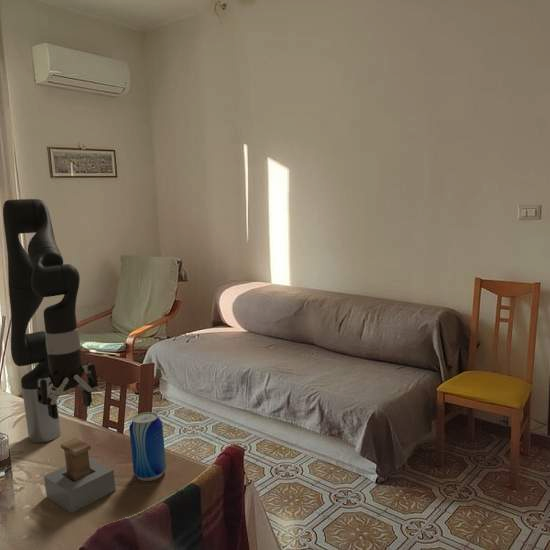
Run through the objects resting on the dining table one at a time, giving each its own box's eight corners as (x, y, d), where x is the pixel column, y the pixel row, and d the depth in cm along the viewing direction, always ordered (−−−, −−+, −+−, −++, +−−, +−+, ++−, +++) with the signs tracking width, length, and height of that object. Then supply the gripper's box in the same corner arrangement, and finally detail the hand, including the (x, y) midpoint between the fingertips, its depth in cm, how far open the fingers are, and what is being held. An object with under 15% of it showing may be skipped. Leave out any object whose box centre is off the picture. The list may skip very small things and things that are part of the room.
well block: (46, 496, 134) (43, 475, 133) (90, 475, 143) (87, 456, 142) (71, 513, 126) (68, 492, 125) (115, 490, 135) (113, 469, 134)
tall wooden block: (66, 488, 135) (60, 444, 133) (80, 481, 138) (75, 437, 136) (80, 497, 130) (75, 452, 128) (95, 490, 133) (90, 445, 131)
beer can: (158, 483, 137) (153, 425, 134) (128, 481, 138) (122, 423, 136) (171, 466, 145) (166, 411, 142) (142, 464, 146) (137, 409, 144)
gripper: (82, 338, 135) (89, 398, 138) (26, 353, 125) (35, 418, 128) (98, 343, 131) (105, 405, 133) (42, 359, 120) (50, 426, 123)
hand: (71, 411), depth 130 cm, fingers open, 8 cm apart
